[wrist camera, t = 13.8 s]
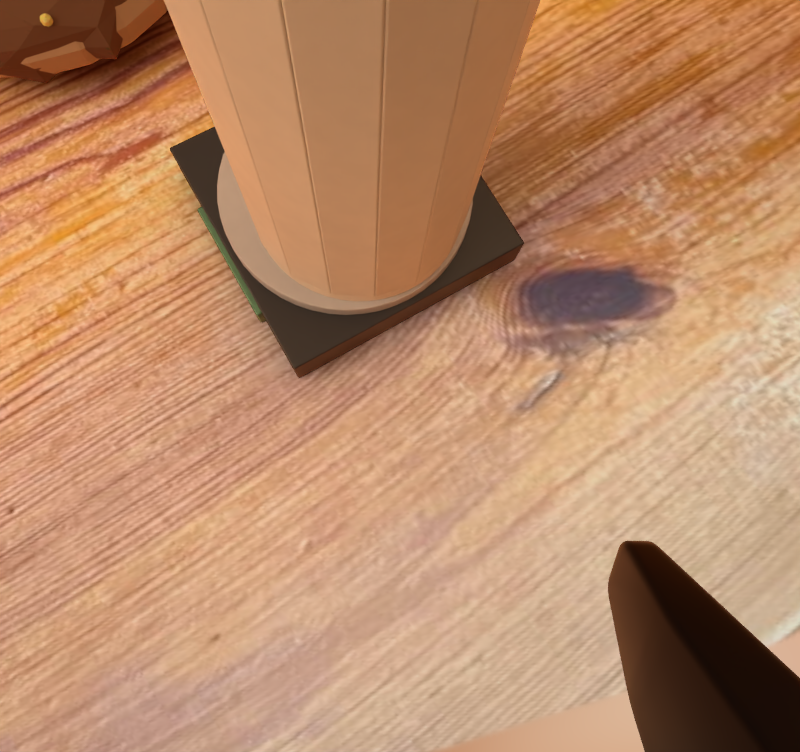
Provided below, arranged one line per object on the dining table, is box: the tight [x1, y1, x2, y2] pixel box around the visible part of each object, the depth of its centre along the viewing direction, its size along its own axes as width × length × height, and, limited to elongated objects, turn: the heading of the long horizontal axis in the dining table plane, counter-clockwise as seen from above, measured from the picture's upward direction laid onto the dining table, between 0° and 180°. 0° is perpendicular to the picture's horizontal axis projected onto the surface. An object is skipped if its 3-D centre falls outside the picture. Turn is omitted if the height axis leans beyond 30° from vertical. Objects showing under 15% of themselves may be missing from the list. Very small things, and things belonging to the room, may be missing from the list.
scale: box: [170, 127, 524, 378], centre depth 23 cm, size 9×9×2 cm
